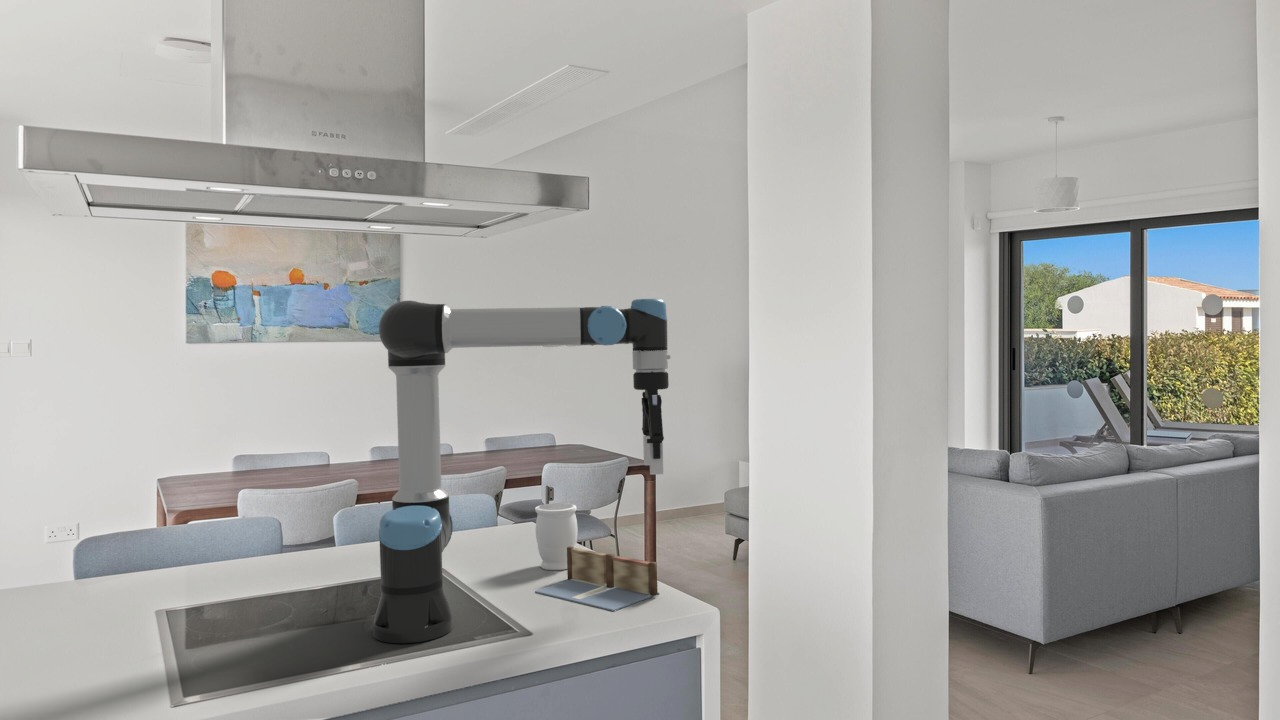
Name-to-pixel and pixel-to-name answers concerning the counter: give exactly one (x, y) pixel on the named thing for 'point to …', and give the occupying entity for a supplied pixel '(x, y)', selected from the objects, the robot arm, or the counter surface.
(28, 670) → the counter surface
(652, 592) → the swing panel
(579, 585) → the card
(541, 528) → the jar
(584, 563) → the brown wall panel
